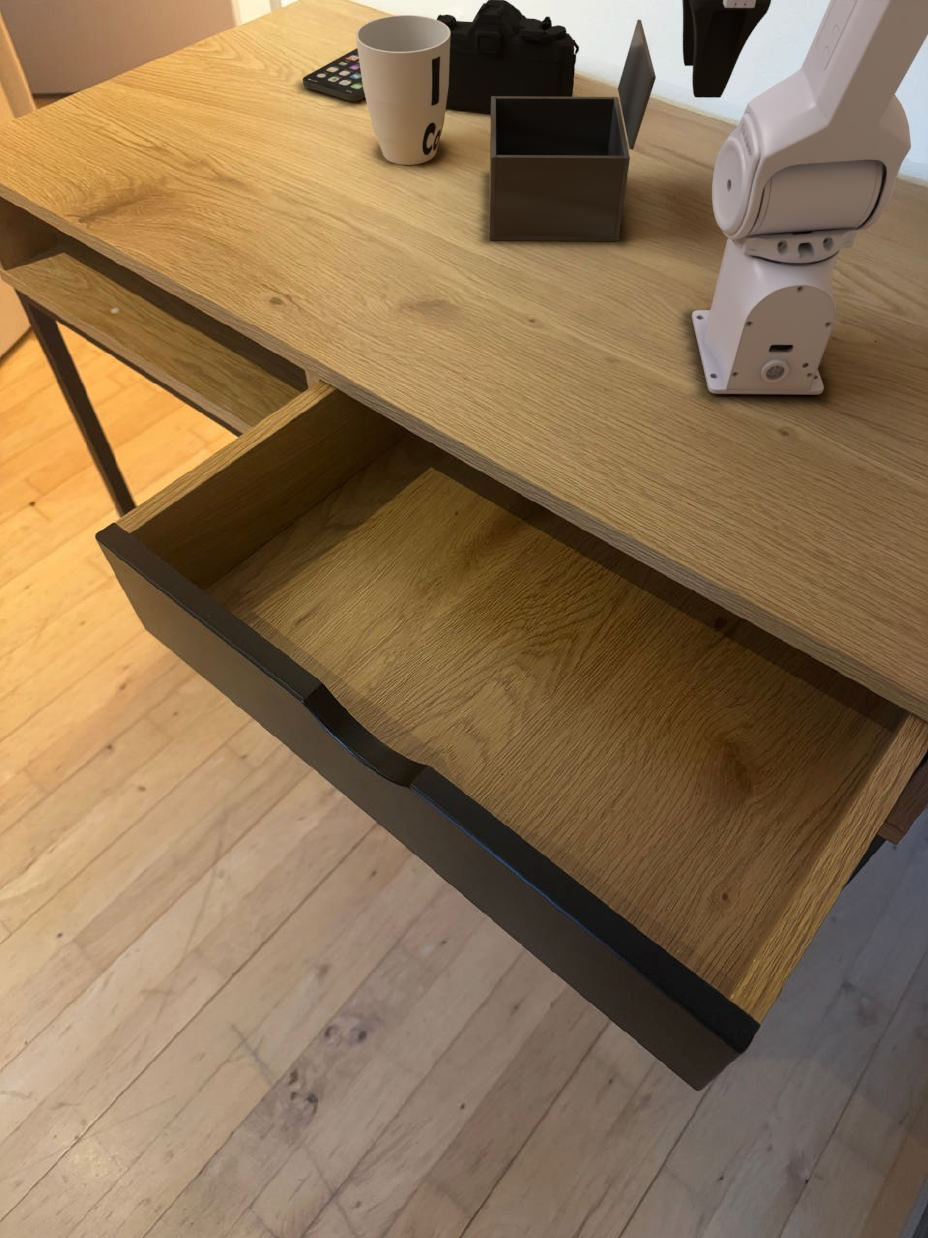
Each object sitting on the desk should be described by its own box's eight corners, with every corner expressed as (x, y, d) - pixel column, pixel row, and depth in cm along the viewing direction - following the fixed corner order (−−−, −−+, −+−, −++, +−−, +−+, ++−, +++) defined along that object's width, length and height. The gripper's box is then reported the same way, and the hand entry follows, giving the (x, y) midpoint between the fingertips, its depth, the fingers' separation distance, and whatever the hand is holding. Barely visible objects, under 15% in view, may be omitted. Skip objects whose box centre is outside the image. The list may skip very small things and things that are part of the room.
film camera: (585, 84, 94) (594, -17, 87) (566, 126, 88) (575, 21, 81) (445, 68, 97) (443, -31, 89) (418, 108, 91) (414, 5, 84)
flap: (637, 18, 72) (641, 19, 72) (617, 88, 76) (621, 89, 76) (652, 76, 66) (656, 77, 66) (629, 148, 70) (633, 149, 70)
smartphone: (439, 46, 98) (355, 96, 91) (440, 53, 99) (355, 103, 91) (385, 32, 101) (298, 79, 93) (385, 38, 101) (299, 86, 94)
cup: (441, 176, 82) (439, 55, 74) (356, 168, 83) (344, 48, 75) (459, 135, 87) (459, 18, 79) (378, 128, 88) (369, 11, 80)
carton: (489, 176, 82) (491, 95, 77) (608, 177, 82) (618, 96, 77) (489, 240, 76) (491, 156, 70) (618, 241, 76) (630, 157, 70)
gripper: (829, -110, 55) (770, 122, 66) (783, -172, 64) (737, 41, 75) (714, -110, 55) (674, 121, 66) (683, -172, 64) (652, 41, 75)
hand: (701, 79), depth 71 cm, fingers open, 5 cm apart
